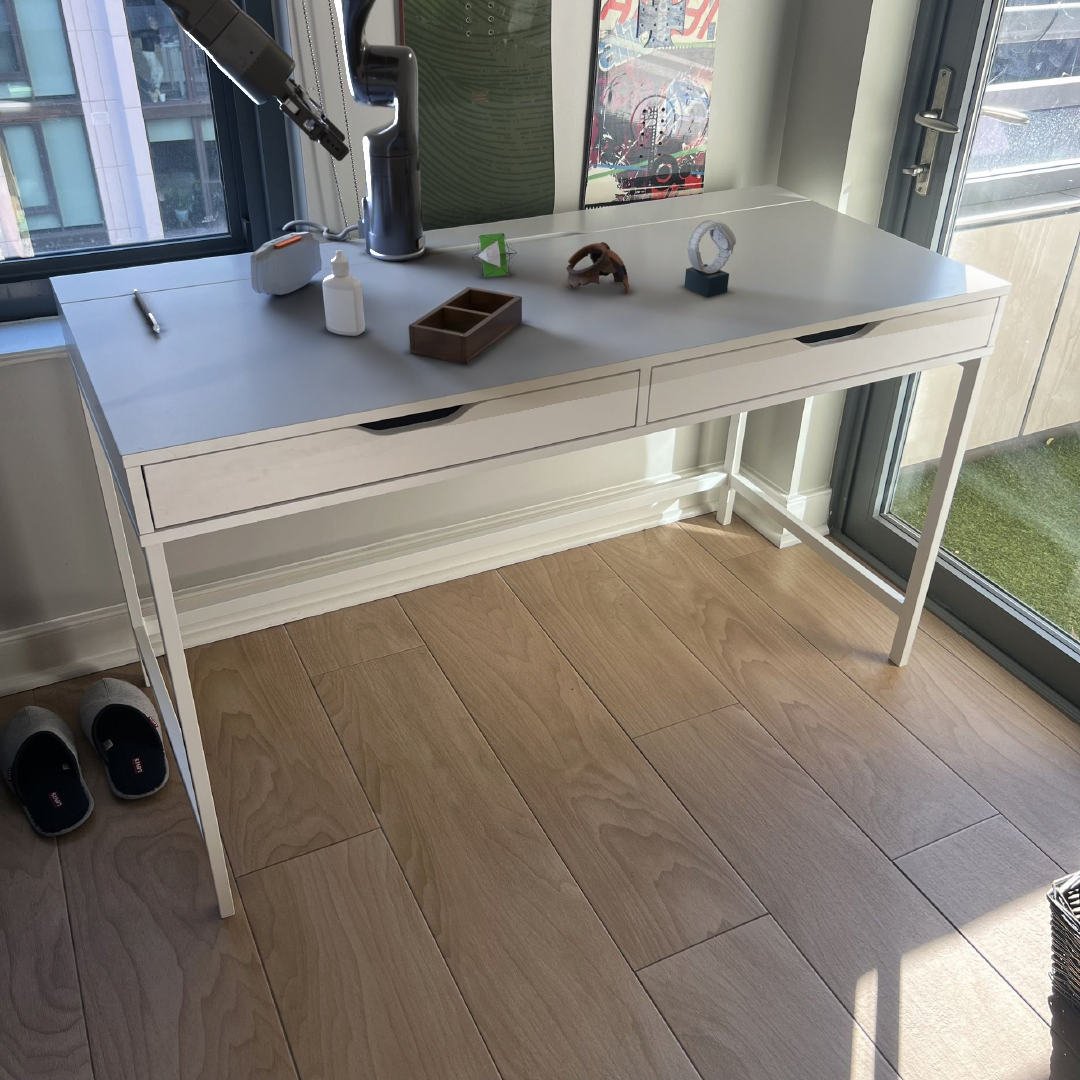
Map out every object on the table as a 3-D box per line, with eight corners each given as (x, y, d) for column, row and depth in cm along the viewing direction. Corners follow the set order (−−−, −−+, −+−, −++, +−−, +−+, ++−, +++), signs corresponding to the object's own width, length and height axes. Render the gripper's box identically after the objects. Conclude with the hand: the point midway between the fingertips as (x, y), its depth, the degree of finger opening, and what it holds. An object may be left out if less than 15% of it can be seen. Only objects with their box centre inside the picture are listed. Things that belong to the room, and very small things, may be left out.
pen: (155, 334, 153) (154, 327, 152) (132, 292, 167) (131, 285, 167) (162, 333, 153) (160, 326, 153) (138, 291, 168) (137, 284, 167)
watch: (736, 290, 172) (744, 222, 166) (699, 299, 168) (706, 230, 162) (712, 280, 176) (719, 213, 170) (675, 289, 172) (681, 221, 166)
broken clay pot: (634, 303, 168) (612, 262, 163) (580, 323, 172) (557, 284, 166) (634, 260, 176) (614, 219, 171) (583, 280, 180) (561, 241, 174)
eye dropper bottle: (342, 340, 152) (334, 258, 146) (323, 328, 156) (315, 248, 150) (369, 333, 155) (362, 252, 148) (349, 322, 158) (342, 242, 152)
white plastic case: (312, 273, 176) (307, 225, 172) (326, 277, 175) (321, 228, 170) (251, 300, 165) (244, 249, 161) (266, 303, 164) (259, 253, 160)
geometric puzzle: (465, 253, 179) (472, 223, 172) (504, 249, 181) (512, 220, 174) (475, 289, 177) (482, 261, 170) (514, 285, 179) (523, 257, 171)
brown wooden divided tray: (409, 353, 149) (408, 325, 147) (468, 312, 162) (467, 286, 160) (467, 364, 146) (466, 336, 144) (522, 322, 159) (522, 296, 157)
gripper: (269, 42, 132) (365, 140, 140) (269, 28, 144) (357, 119, 152) (230, 87, 134) (327, 181, 142) (232, 70, 145) (322, 157, 154)
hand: (343, 149), depth 147 cm, fingers open, 8 cm apart
